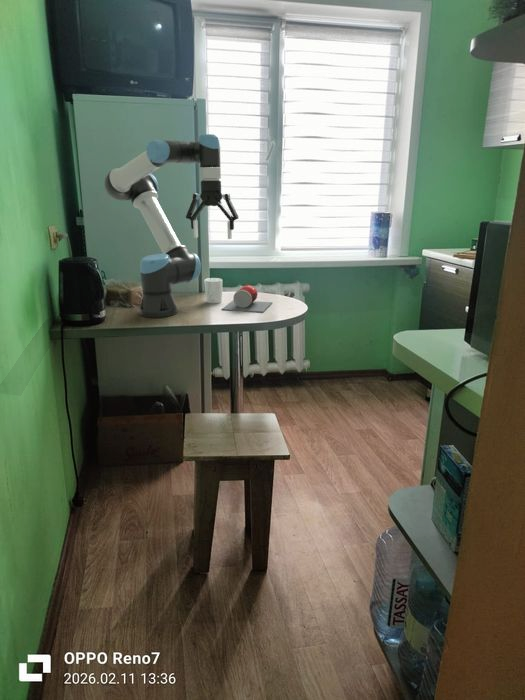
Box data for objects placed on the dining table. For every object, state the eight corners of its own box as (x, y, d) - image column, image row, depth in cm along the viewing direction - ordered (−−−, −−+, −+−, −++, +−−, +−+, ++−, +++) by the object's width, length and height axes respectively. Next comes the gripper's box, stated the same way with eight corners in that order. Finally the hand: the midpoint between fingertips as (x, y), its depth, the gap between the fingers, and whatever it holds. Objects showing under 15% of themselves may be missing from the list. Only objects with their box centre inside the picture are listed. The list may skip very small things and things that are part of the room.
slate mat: (221, 310, 207) (221, 308, 207) (233, 301, 222) (233, 300, 222) (263, 312, 203) (263, 311, 203) (272, 303, 218) (272, 302, 217)
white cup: (211, 304, 216) (210, 282, 212) (201, 301, 222) (200, 279, 218) (226, 302, 220) (225, 279, 217) (216, 298, 226) (215, 277, 223)
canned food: (238, 286, 217) (231, 292, 207) (255, 282, 215) (248, 288, 205) (243, 303, 219) (236, 309, 209) (260, 299, 217) (253, 305, 207)
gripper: (245, 179, 184) (246, 237, 191) (182, 179, 189) (185, 236, 196) (240, 180, 177) (241, 240, 184) (175, 180, 182) (178, 238, 189)
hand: (212, 238), depth 190 cm, fingers open, 13 cm apart
